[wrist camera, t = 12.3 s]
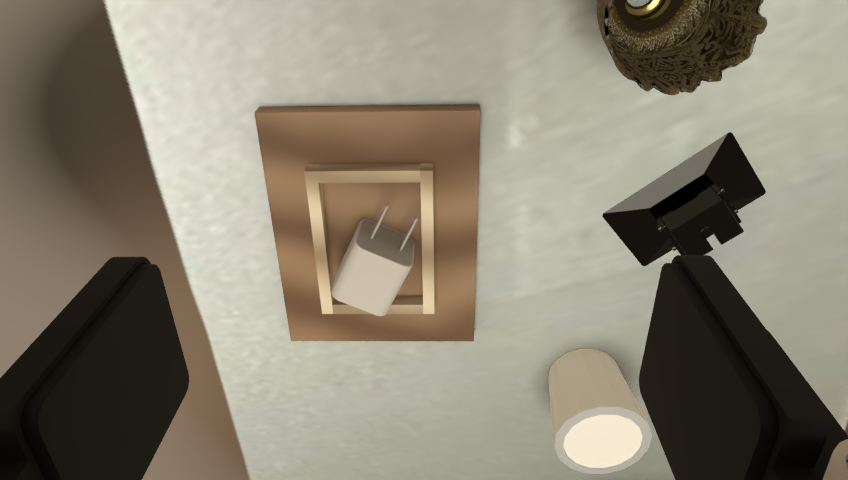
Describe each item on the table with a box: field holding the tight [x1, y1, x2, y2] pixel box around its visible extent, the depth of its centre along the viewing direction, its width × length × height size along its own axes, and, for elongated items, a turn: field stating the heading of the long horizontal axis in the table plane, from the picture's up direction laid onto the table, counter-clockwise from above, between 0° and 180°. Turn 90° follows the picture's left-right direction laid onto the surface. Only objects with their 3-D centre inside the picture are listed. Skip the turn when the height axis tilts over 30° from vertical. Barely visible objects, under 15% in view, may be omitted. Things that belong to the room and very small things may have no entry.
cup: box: [597, 0, 767, 95], centre depth 31 cm, size 8×7×8 cm
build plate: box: [603, 133, 766, 266], centre depth 40 cm, size 12×7×5 cm, turn 130°
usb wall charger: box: [331, 202, 418, 316], centre depth 40 cm, size 4×7×4 cm, turn 155°
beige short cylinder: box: [548, 349, 652, 474], centre depth 46 cm, size 7×7×7 cm
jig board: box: [255, 105, 481, 341], centre depth 42 cm, size 18×14×2 cm
